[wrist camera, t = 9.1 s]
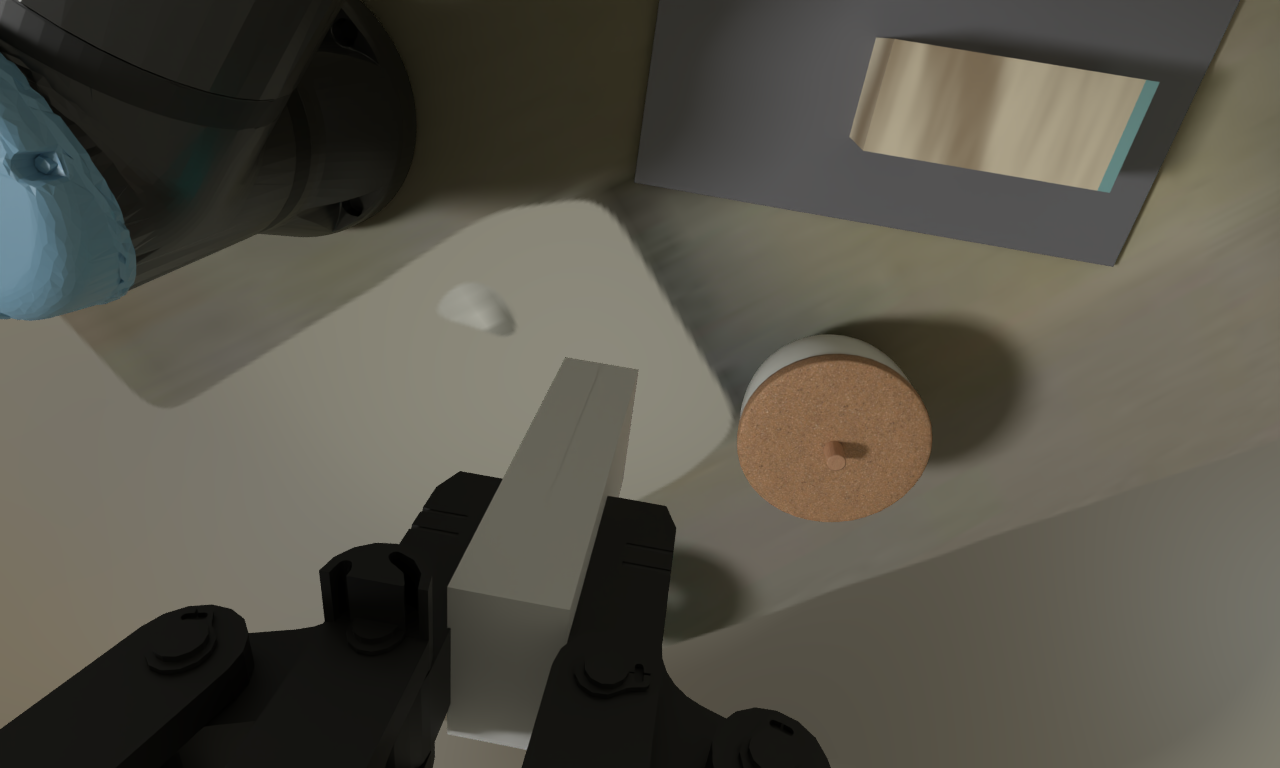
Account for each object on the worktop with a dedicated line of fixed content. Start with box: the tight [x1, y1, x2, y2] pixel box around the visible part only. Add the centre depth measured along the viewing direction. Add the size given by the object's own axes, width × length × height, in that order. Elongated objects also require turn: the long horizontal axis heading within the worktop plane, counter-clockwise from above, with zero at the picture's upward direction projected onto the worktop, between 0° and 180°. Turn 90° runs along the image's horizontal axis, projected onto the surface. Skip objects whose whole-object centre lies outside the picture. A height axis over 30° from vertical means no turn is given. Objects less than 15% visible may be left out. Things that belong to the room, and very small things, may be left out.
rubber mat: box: [634, 0, 1240, 267], centre depth 38 cm, size 28×14×1 cm, turn 82°
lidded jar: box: [737, 334, 933, 522], centre depth 43 cm, size 11×11×9 cm
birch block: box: [849, 38, 1160, 193], centre depth 36 cm, size 5×5×12 cm
